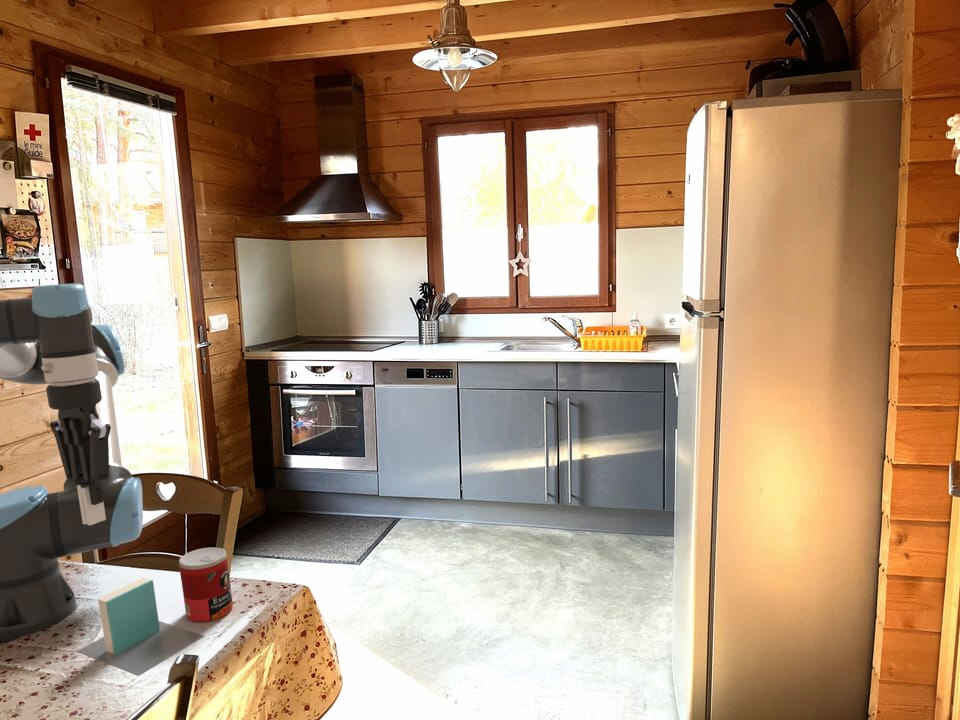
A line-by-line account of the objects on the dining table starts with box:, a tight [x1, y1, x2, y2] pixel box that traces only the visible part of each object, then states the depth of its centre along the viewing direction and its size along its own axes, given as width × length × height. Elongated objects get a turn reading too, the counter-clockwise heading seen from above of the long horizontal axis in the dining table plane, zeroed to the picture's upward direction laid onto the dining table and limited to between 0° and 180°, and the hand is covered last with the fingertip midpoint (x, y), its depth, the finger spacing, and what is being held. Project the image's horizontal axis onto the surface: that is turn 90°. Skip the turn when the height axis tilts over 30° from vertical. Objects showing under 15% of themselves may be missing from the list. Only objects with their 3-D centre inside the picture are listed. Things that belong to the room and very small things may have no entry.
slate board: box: [76, 620, 205, 677], centre depth 116 cm, size 16×12×1 cm
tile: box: [97, 577, 160, 655], centre depth 116 cm, size 2×8×9 cm, turn 150°
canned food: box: [178, 546, 234, 624], centre depth 124 cm, size 8×8×11 cm
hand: (94, 521), depth 117 cm, fingers closed
